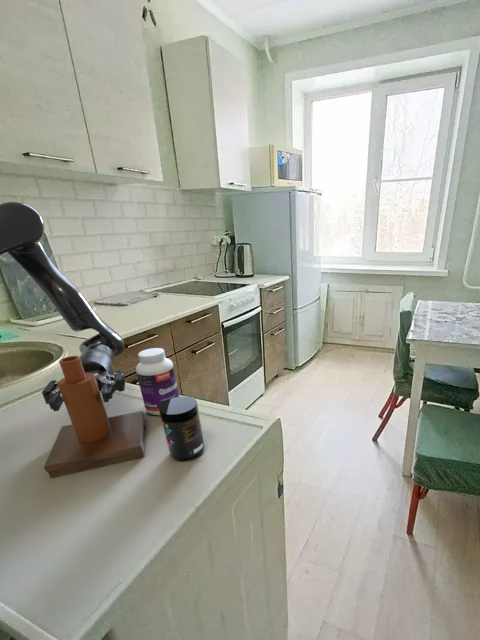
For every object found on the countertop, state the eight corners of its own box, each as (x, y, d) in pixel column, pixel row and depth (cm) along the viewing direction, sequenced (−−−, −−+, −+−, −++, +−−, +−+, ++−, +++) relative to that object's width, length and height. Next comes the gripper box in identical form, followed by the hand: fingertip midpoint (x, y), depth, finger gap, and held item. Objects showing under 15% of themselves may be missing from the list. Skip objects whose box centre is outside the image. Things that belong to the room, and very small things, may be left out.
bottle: (75, 445, 67) (46, 367, 60) (80, 429, 72) (54, 356, 65) (109, 438, 69) (85, 362, 62) (112, 422, 74) (90, 351, 67)
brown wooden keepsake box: (49, 479, 63) (43, 466, 61) (66, 438, 75) (61, 426, 73) (144, 458, 67) (140, 445, 66) (146, 422, 79) (143, 410, 78)
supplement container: (184, 438, 72) (175, 394, 68) (212, 445, 70) (204, 399, 65) (162, 458, 67) (150, 411, 62) (191, 466, 64) (181, 417, 60)
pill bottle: (167, 419, 80) (153, 360, 73) (138, 414, 82) (123, 357, 76) (188, 402, 87) (177, 347, 80) (161, 398, 89) (148, 344, 83)
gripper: (51, 359, 75) (28, 391, 61) (123, 349, 79) (116, 377, 65) (63, 390, 79) (43, 427, 65) (131, 379, 82) (126, 412, 68)
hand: (80, 402), depth 65 cm, fingers open, 8 cm apart
